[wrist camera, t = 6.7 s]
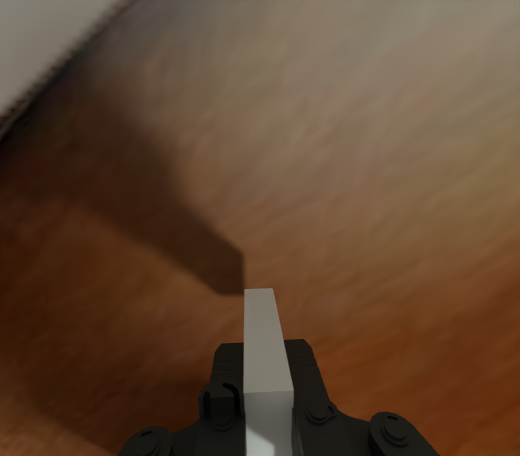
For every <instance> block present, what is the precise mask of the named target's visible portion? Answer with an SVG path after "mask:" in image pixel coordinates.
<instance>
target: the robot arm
mask: <svg viewBox="0 0 520 456" xmlns="http://www.w3.org/2000/svg"><path fill="white" fill-rule="evenodd" d="M198 402H199V413H200V418H199V419H198V420H197V421H196V422H195V423H194V424H192V425H191V426H189V427H187V428H185V429H183V430H180V431H178V432H175V433H172V434H170V433H169V432H168V430H167V429H165V428H162V427H160V426H152V427H148V428H145V429H143V430H141V431H139V432H138V433H136V434H135V435H133V436H132V437H131V438H130V439H129V441H128V442H127V443H126V444H125V445H124V447H123V448H122V450H121V451H120V453H119V454H118V456H292V451H293V456H440V455H439V454H438V453H437V452H436V451H435V450H434V449H433V447H432V446H431V445H430V444H429V443H428V442H427V441H426V440H425V438H424V437H423V436H422V435H421V434H420V433H419V432H418V430H417V429H416V428H415V427H414V426H413V425H412V424H411V423H409V422H408V421H407V420H406V419H405V418H403V417H401V416H399V415H397V414H394V413H390V412H378V413H377V414H375V415H374V416H372V418H371V420H370V422H368V421H364V420H360V419H356V418H353V417H350V416H347V415H345V414H343V413H342V412H340V411H339V410H338V409H337V407H336V406H335V405H334V404H333V403H332V402H331V401H330V399H329V397H328V394H327V391H326V389H325V386H324V383H323V380H322V377H321V374H320V371H319V368H318V366H317V363H316V360H315V358H314V354H313V351H312V348H311V346H310V345H309V344H308V343H307V342H306V341H305V340H304V339H295V340H283V336H282V331H281V326H280V321H279V316H278V312H277V307H276V302H275V297H274V292H273V288H267V289H245V294H244V343H225V344H221V345H220V346H219V347H218V349H217V350H216V352H215V355H214V361H213V367H212V374H211V380H210V384H208V385H207V386H206V387H205V388H204V389H203V390H202V391H201V393H200V395H199V398H198Z"/></svg>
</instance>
